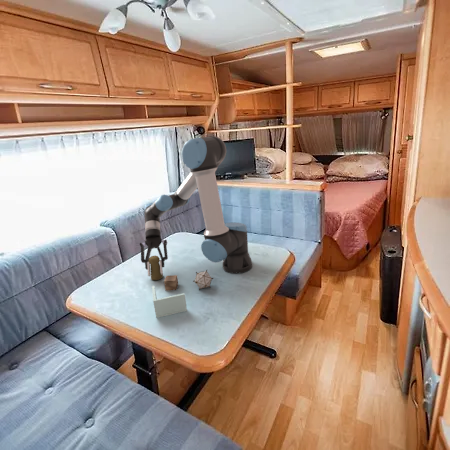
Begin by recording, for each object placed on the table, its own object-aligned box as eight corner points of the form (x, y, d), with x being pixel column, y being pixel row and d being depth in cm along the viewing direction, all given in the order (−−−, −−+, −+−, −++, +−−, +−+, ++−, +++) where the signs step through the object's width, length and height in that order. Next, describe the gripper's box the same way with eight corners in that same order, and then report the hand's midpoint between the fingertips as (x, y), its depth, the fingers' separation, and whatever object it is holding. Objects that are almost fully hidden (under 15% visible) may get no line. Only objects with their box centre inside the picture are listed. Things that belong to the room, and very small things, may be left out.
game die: (207, 296, 129) (209, 287, 121) (190, 289, 129) (190, 280, 121) (214, 279, 134) (216, 269, 126) (197, 273, 135) (198, 263, 127)
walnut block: (178, 284, 133) (177, 275, 132) (176, 290, 129) (175, 280, 127) (167, 285, 134) (166, 275, 132) (165, 290, 129) (163, 281, 127)
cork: (157, 281, 137) (153, 260, 133) (148, 278, 140) (144, 258, 136) (165, 275, 141) (162, 255, 138) (157, 273, 145) (153, 253, 141)
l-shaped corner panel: (187, 310, 113) (184, 294, 111) (156, 317, 110) (153, 301, 108) (182, 295, 124) (180, 280, 122) (154, 301, 121) (151, 285, 119)
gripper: (171, 232, 151) (175, 274, 140) (136, 236, 149) (137, 279, 138) (169, 225, 144) (173, 269, 134) (133, 230, 142) (134, 275, 132)
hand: (155, 274), depth 136 cm, fingers closed on cork, 5 cm apart
